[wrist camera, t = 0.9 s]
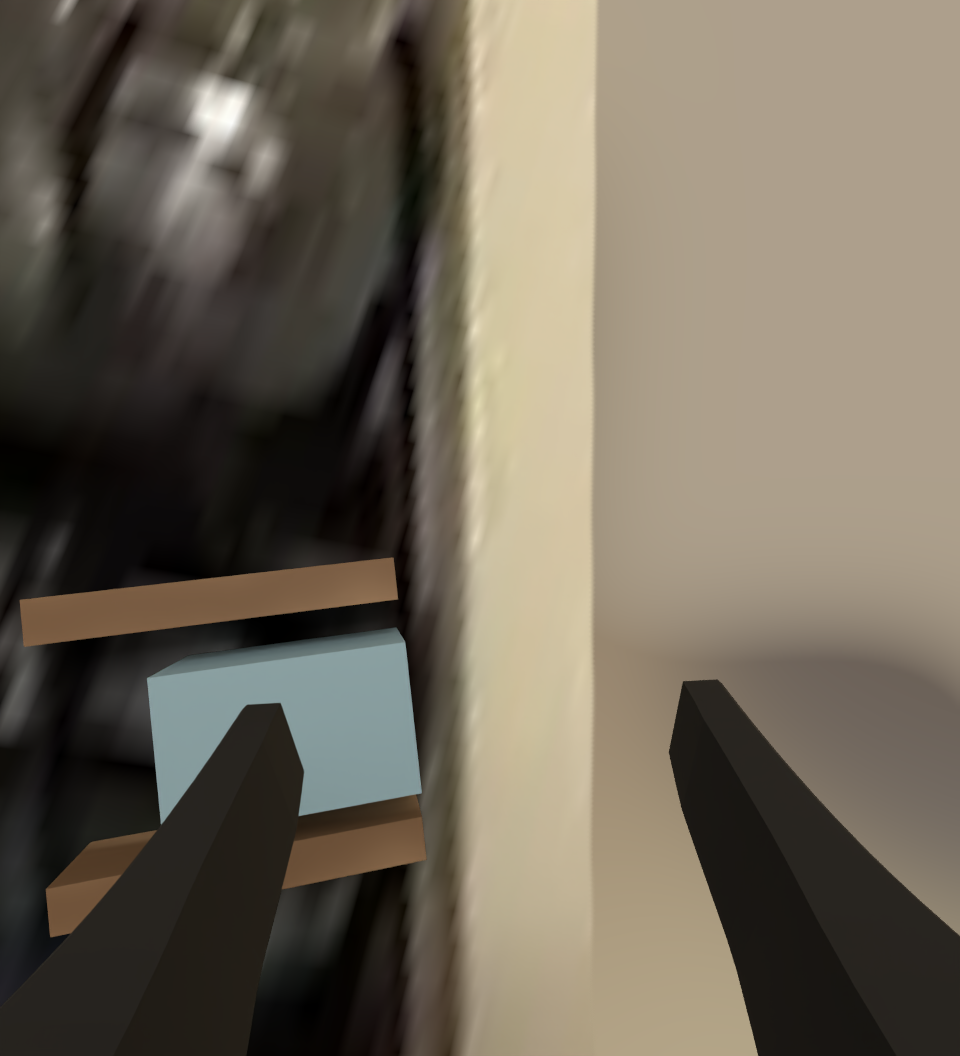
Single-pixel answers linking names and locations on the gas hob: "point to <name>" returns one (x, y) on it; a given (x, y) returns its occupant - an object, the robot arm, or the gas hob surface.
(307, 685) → the block
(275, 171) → the gas hob surface
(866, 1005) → the robot arm
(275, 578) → the chute
